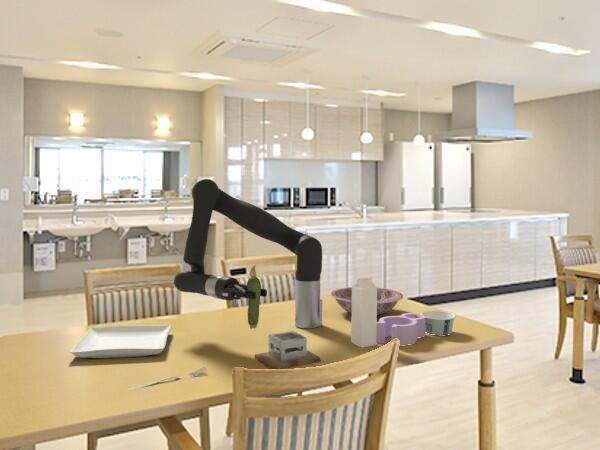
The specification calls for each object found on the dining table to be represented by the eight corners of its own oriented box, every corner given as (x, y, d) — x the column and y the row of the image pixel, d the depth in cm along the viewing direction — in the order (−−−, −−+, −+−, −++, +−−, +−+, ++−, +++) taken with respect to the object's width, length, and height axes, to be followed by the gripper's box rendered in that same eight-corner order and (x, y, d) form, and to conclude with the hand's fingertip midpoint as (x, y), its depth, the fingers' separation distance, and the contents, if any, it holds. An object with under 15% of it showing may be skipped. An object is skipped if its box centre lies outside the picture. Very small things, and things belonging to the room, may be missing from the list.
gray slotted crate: (292, 349, 162) (292, 330, 161) (306, 357, 155) (306, 338, 154) (268, 354, 158) (268, 334, 157) (281, 362, 150) (281, 342, 150)
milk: (376, 345, 170) (378, 278, 168) (361, 348, 167) (362, 280, 165) (365, 340, 175) (366, 275, 174) (350, 342, 172) (351, 277, 171)
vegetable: (247, 326, 164) (246, 263, 162) (261, 325, 165) (260, 263, 163) (247, 330, 160) (246, 266, 158) (261, 330, 160) (260, 265, 158)
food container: (462, 334, 183) (463, 316, 182) (438, 339, 176) (438, 320, 176) (436, 326, 193) (437, 308, 192) (413, 331, 187) (413, 313, 186)
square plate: (164, 359, 157) (164, 347, 156) (68, 364, 152) (67, 351, 152) (172, 333, 183) (172, 323, 183) (90, 337, 179) (90, 325, 179)
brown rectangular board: (300, 349, 165) (300, 346, 165) (320, 360, 155) (320, 357, 155) (254, 357, 157) (254, 354, 157) (272, 370, 147) (272, 366, 147)
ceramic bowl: (315, 314, 210) (315, 294, 209) (356, 301, 232) (357, 284, 231) (377, 327, 191) (378, 306, 190) (415, 312, 213) (416, 293, 212)
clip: (403, 329, 188) (404, 311, 188) (434, 337, 180) (434, 317, 179) (369, 341, 175) (369, 321, 174) (400, 350, 166) (400, 328, 165)
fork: (115, 391, 133) (115, 384, 133) (203, 371, 147) (203, 365, 146) (119, 395, 130) (119, 388, 130) (208, 375, 144) (208, 369, 144)
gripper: (205, 279, 164) (244, 286, 154) (237, 272, 175) (276, 278, 165) (206, 303, 165) (244, 311, 154) (238, 294, 176) (276, 302, 165)
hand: (260, 294), depth 160 cm, fingers closed on vegetable, 4 cm apart
